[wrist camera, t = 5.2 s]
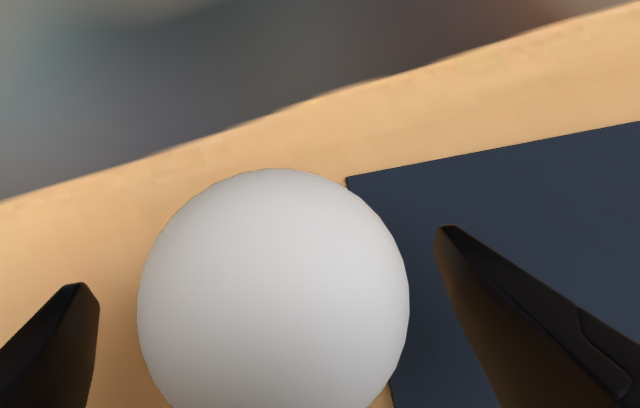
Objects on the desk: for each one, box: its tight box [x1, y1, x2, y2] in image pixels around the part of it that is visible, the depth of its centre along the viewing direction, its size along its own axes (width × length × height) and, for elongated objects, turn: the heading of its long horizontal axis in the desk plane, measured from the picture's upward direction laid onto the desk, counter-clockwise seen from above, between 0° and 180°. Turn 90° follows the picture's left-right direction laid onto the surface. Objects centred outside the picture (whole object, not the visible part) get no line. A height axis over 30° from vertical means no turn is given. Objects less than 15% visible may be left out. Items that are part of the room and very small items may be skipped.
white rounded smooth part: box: [137, 169, 410, 408], centre depth 11 cm, size 6×6×11 cm
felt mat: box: [346, 121, 640, 408], centre depth 18 cm, size 20×12×1 cm, turn 102°
